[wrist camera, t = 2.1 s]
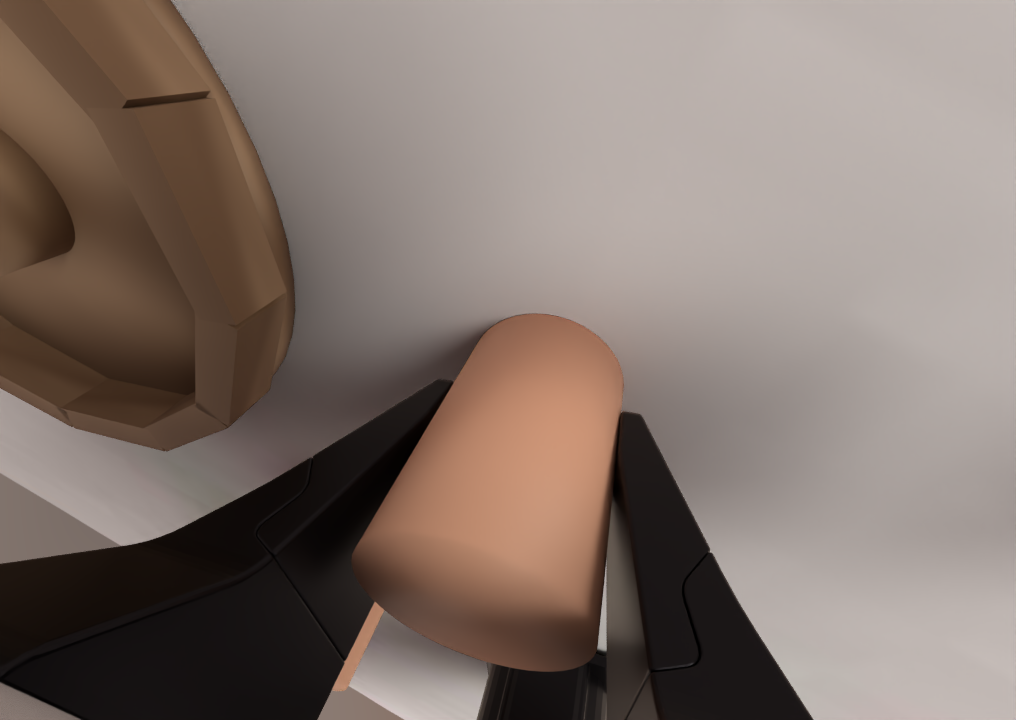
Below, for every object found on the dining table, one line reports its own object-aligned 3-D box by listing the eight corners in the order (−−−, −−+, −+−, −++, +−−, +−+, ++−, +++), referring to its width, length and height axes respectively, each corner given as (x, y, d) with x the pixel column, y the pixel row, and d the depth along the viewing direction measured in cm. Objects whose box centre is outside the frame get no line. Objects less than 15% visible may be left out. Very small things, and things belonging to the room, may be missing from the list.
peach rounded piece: (612, 447, 11) (584, 694, 7) (476, 420, 12) (379, 625, 8) (636, 325, 9) (615, 583, 5) (466, 303, 10) (321, 505, 6)
